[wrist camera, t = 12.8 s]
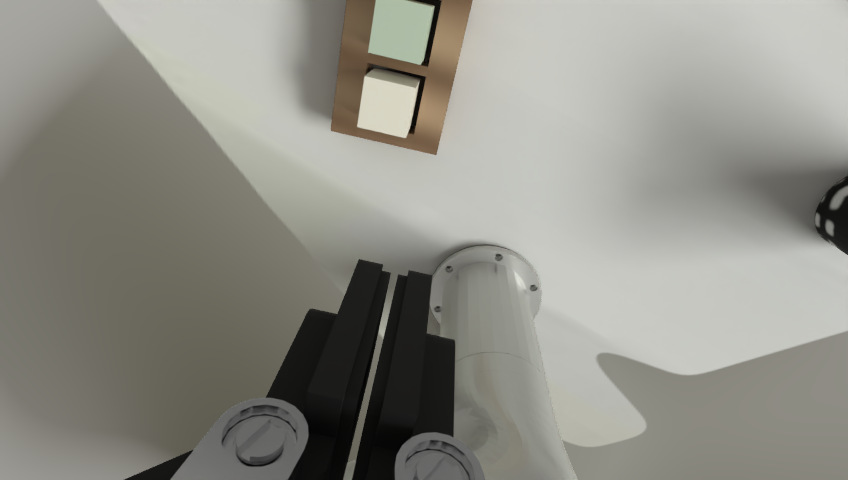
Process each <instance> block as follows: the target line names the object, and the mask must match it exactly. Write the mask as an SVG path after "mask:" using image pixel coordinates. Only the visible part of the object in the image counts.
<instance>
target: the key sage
mask: <svg viewBox="0 0 848 480" xmlns="http://www.w3.org/2000/svg"><path fill="white" fill-rule="evenodd" d="M434 10H435V5H431V4H427V3H423V2H419V1H414V0H376V2H375V9H374V16H373V23H372V29H371V36H370V43H369V50H368V53H372V54H376V55H380V56H385V57H389V58H393V59H397V60H402V61H406V62H410V63H414V64H418V65H421V63H422V61H423V60H424V58H425V54H426V49H427V44H428V39H429V34H430V30H431V25H432V20H433V15H434Z"/></svg>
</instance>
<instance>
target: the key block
mask: <svg viewBox="0 0 848 480" xmlns="http://www.w3.org/2000/svg"><path fill="white" fill-rule="evenodd" d="M375 2H376V0H347V2H346V10H345V18H344V26H343V34H342V42H341V51H340V59H339V67H338V75H337V83H336V91H335V100H334V108H333V116H332V124H331V131H334V132H339V133H343V134H347V135H352V136H356V137H360V138H365V139H369V140H373V141H378V142H382V143H386V144H391V145H395V146H399V147H404V148H408V149H412V150H417V151H421V152H425V153H430V154H434V155H436V154H437V150H438V145H439V141H440V137H441V133H442V128H443V124H444V120H445V116H446V111H447V107H448V103H449V98H450V94H451V90H452V86H453V81H454V77H455V73H456V69H457V64H458V60H459V56H460V51H461V47H462V43H463V39H464V34H465V30H466V26H467V22H468V17H469V13H470V9H471V4H472V0H442V2H441V7H440V12H439V17H438V21H437V26H436V31H435V36H434V41H433V46H432V50H431V55H430V60H429V62H425V61H422V63H421V65H418V64H414V63H410V62H406V61H402V60H397V59H393V58H389V57H385V56H380V55H376V54H372V53H368V50H369V43H370V36H371V29H372V23H373V16H374V9H375ZM372 64H375V65H379V66H383V67H388V68H392V69H396V70H400V71H404V72H409V73H413V74H417V75H421V76H426V79H425V84H424V89H423V94H422V99H421V104H420V108H419V113H418V118H417V123H416V126H412V125H411V126H410V129H409V131H408V134H407V137H406V138H402V137H398V136H394V135H389V134H385V133H381V132H376V131H372V130H368V129H363V128H359V127H357V124H358V117H359V110H360V104H361V97H362V90H363V83H364V77H365V75H366V74H368V73H369V72H370V71H371V68H372Z"/></svg>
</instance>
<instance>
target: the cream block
mask: <svg viewBox="0 0 848 480" xmlns="http://www.w3.org/2000/svg"><path fill="white" fill-rule="evenodd" d="M420 79H421V78H416V77H412V76H408V75H404V74H400V73H395V72H391V71H387V70H383V69H378V68H374V69H373V70H371V71H370V72H369V73H368V74H366V75H365V77H364V83H363V90H362V97H361V104H360V110H359V117H358V124H357V127H359V128H363V129H368V130H372V131H376V132H381V133H385V134H389V135H394V136H398V137H402V138H406V137H407V134H408V131H409V129H410V126H411V124H412V119H413V114H414V109H415V104H416V99H417V94H418V89H419V84H420Z"/></svg>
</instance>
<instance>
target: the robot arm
mask: <svg viewBox="0 0 848 480" xmlns="http://www.w3.org/2000/svg"><path fill="white" fill-rule="evenodd" d="M496 254H500V255H496ZM448 266H450V267H448ZM382 268H383V264H378V263H374V262H369V261H365V260H360V259H359V261H358V263H357V266H356V268H355V271H354V273H353V276H352V278H351V281H350V283H349V286H348V289H347V291H346V294H345V296H344V299H343V301H342V304H341V307H340V309H339V312H338V314H334V313H329V312H325V311H320V310H316V309H310V310H309V311H308V313H307V314H306V316H305V319H304V321H303V323H302V325H301V327H300V329H299V331H298V333H297V335H296V337H295V339H294V341H293V343H292V345H291V347H290V349H289V351H288V354H287V355H286V357H285V359H284V362H283V364H282V366H281V368H280V370H279V372H278V374H277V376H276V378H275V380H274V382H273V384H272V386H271V388H270V390H269V392H268V394H267V396H266V398H255V399H251V400H248V401H244V402H241V403H239V404H237V405H236V406H234V407H232V408H230V409H228V410H227V411H226V412H225V413H224V414H223V415H222V416H221V417H220V418H219V419H218V420H217V421H216V423H215V424H214V425H213V426H212V428H211V429H210V430H209V432H208V433H207V434H206V435H205V437H204V438H203V439H202V440H201V442H200V443H199V444H198V445H197V447H196V448H195V449H194V450H192V451H189V452H187V453H185V454H183V455H180V456H178V457H176V458H173V459H171V460H169V461H166V462H164V463H162V464H160V465H157V466H155V467H153V468H150V469H148V470H146V471H143V472H141V473H139V474H137V475H134V476H132V477H129V478H127V479H125V480H578V479H577V477H576V475H575V472H574V470H573V468H572V465H571V463H570V460H569V458H568V455H567V453H566V450H565V447H564V444H563V442H562V439H561V436H560V432H559V429H558V425H557V422H556V418H555V414H554V410H553V406H552V402H551V397H550V393H549V388H548V384H547V379H546V375H545V370H544V366H543V361H542V357H541V352H540V347H539V343H538V338H537V334H536V329H535V325H534V319H535V317H536V315H537V313H538V311H539V308H540V305H541V298H542V291H541V286H540V282H539V279H538V276H537V274H536V272H535V271H534V269H533V267H532V266H531V265H530V264H529V263H528V262H527V261H526V260H525V259H524V258H522V257H521V256H520V255H518V254H517V253H514V252H512V251H510V250H508V249H505V248H501V247H497V246H474V247H470V248H466V249H463V250H461V251H459V252H456V253H454V254H453V255H451V256H450V257H448V258H447V259H445V260H444V261H443V262H442V263H441V264H440V265H439V267H438V268H437V270H436V271H435V273H434V274H433V277H432V275H428V274H423V273H419V272H414V271H410V270H409V272H408V276H403V275H398V278H397V282H396V287H395V291H394V296H393V300H392V304H391V309H390V313H389V317H388V322H387V326H386V330H385V335H384V339H383V344H382V348H381V353H380V357H379V361H378V365H377V370H376V374H375V379H374V383H373V387H372V392H371V396H370V400H369V405H368V410H367V414H366V418H365V423H364V427H363V432H362V436H361V442H360V446H359V450H358V455H357V459H356V460H354V461H352V462H349V463H347V462H348V458H349V454H350V450H351V446H352V442H353V438H354V433H355V429H356V425H357V421H358V417H359V413H360V409H361V405H362V401H363V397H364V393H365V389H366V385H367V381H368V377H369V372H370V368H371V363H372V359H373V354H374V349H375V345H376V340H377V335H378V331H379V326H380V321H381V317H382V312H383V307H384V303H385V298H386V293H387V288H388V284H389V279H390V274H391V273H389V272H385V271H382ZM429 304H430V308H431V311H432V313H433V315H434V317H435V318H436V320H437V321H438V323H439V324H440V336H435V335H431V334H426V333H427V323H428V314H429Z"/></svg>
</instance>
